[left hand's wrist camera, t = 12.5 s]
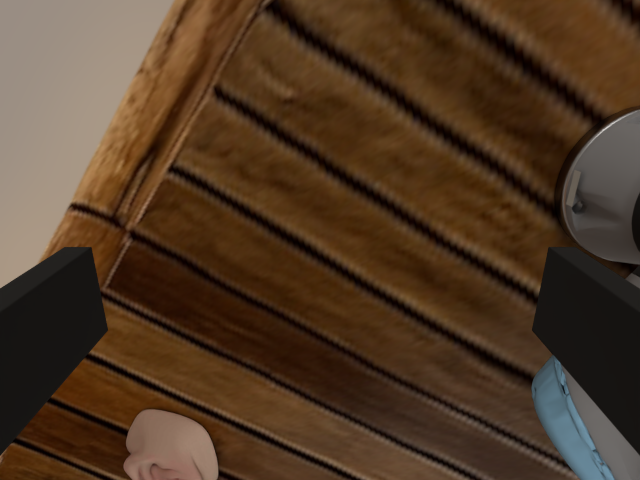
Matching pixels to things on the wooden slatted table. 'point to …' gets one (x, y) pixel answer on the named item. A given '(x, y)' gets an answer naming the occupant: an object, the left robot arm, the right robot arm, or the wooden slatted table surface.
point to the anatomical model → (169, 448)
